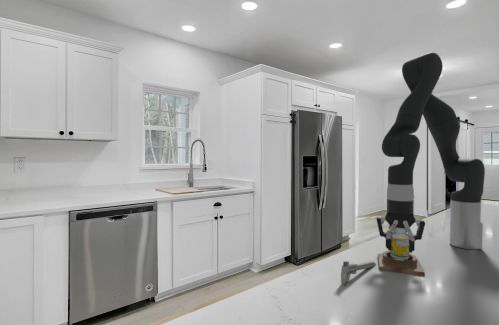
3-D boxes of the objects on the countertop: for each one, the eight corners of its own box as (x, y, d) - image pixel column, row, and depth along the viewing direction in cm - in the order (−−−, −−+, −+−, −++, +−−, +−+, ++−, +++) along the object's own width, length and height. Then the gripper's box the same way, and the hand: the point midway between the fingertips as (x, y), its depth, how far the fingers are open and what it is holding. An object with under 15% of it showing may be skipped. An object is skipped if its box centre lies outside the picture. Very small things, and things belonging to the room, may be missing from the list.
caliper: (344, 286, 78) (344, 263, 78) (340, 285, 79) (340, 262, 79) (376, 265, 93) (376, 245, 92) (373, 264, 93) (373, 244, 93)
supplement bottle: (410, 261, 88) (410, 230, 88) (391, 258, 90) (391, 228, 90) (407, 254, 93) (408, 225, 93) (389, 253, 95) (389, 224, 95)
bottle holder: (417, 260, 95) (417, 251, 95) (424, 275, 84) (424, 265, 84) (377, 256, 99) (377, 247, 99) (379, 269, 88) (379, 260, 88)
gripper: (424, 197, 92) (423, 249, 92) (374, 195, 97) (374, 244, 98) (428, 201, 85) (428, 257, 85) (375, 198, 90) (375, 252, 91)
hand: (399, 250), depth 92 cm, fingers closed on supplement bottle, 5 cm apart
